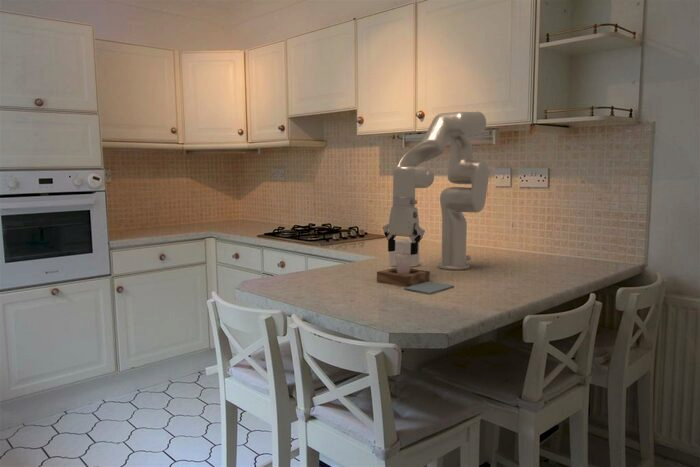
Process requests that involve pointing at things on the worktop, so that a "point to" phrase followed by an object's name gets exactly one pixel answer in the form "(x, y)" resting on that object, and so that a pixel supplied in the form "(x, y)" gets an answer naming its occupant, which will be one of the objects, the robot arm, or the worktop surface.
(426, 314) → the worktop surface
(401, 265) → the smoothie
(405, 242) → the toilet tissue
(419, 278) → the wooden square frame
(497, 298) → the worktop surface
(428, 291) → the mat
